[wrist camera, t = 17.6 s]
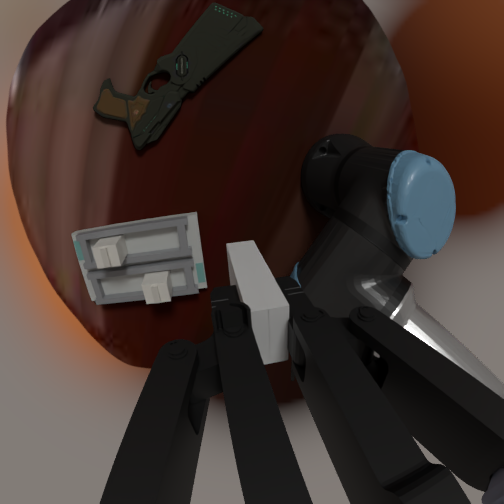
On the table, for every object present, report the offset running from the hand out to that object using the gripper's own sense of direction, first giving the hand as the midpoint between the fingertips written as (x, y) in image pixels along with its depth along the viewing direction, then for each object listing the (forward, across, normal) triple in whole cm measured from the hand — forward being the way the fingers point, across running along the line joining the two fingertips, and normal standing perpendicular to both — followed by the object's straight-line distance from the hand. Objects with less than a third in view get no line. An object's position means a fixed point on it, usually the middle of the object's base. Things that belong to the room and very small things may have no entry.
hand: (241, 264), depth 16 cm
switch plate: (+29, +14, +10) cm, 34 cm away
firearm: (+30, +5, -21) cm, 37 cm away
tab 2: (+28, +11, +14) cm, 33 cm away
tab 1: (+28, +17, +7) cm, 33 cm away
